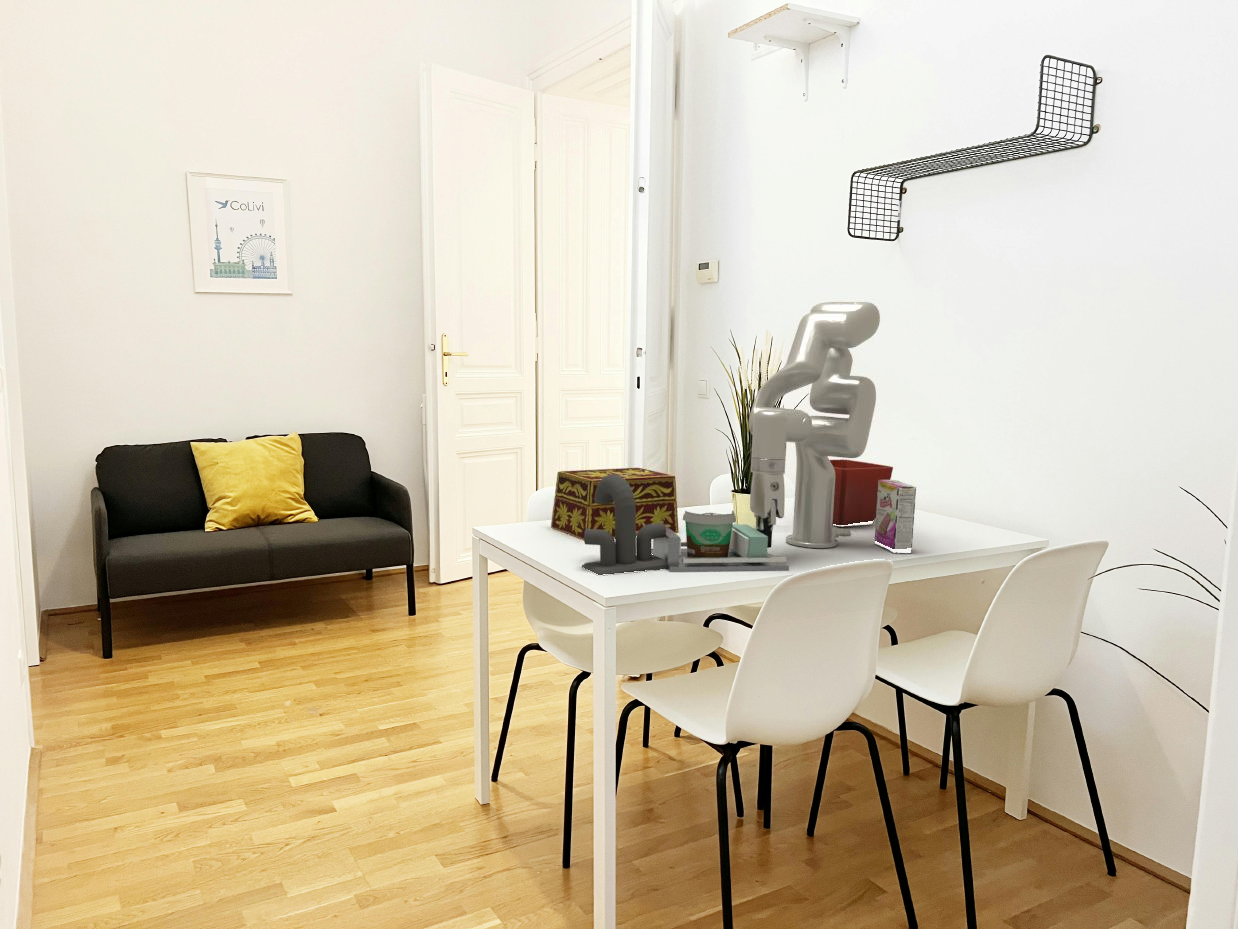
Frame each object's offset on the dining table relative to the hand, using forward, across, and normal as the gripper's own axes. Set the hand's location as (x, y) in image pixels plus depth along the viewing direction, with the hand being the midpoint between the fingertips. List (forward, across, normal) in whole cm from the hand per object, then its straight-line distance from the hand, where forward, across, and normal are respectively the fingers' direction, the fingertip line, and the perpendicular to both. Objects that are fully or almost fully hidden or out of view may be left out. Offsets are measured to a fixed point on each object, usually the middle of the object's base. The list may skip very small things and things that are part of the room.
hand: (763, 546), depth 206 cm
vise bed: (+3, 0, +10) cm, 11 cm away
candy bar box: (+3, +11, -37) cm, 39 cm away
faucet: (+4, -1, +33) cm, 34 cm away
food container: (+3, 0, +12) cm, 12 cm away
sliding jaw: (+2, 0, +4) cm, 4 cm away
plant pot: (+3, +45, -40) cm, 60 cm away
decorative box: (+4, +36, +27) cm, 45 cm away
